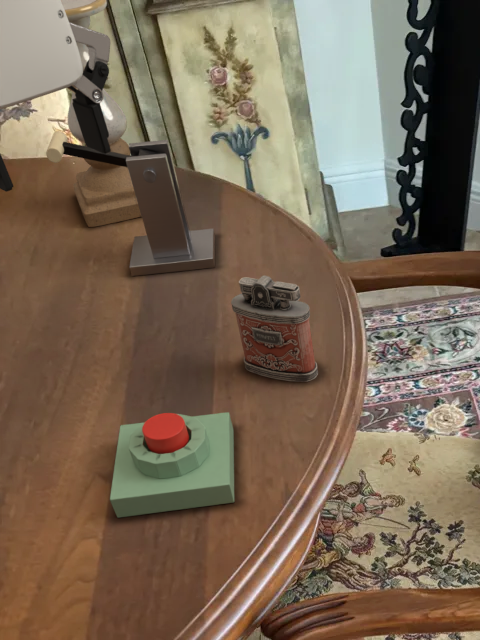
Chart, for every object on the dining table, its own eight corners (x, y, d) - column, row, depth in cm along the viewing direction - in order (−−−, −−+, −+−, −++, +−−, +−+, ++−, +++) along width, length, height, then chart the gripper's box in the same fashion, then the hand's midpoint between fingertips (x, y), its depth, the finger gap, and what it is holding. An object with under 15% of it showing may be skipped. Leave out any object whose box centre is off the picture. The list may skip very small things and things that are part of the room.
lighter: (239, 371, 81) (219, 282, 74) (254, 353, 83) (236, 265, 76) (309, 385, 79) (296, 296, 72) (323, 366, 81) (311, 277, 74)
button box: (117, 518, 67) (102, 484, 64) (126, 443, 74) (114, 409, 71) (234, 502, 68) (225, 468, 65) (233, 430, 75) (225, 396, 72)
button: (146, 457, 67) (140, 441, 66) (148, 430, 69) (143, 415, 68) (188, 452, 67) (183, 436, 66) (189, 425, 70) (185, 410, 68)
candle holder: (88, 228, 104) (16, 19, 86) (76, 196, 111) (7, -4, 93) (169, 210, 107) (116, 4, 89) (152, 180, 114) (100, -17, 96)
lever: (46, 165, 86) (45, 142, 84) (53, 147, 89) (52, 125, 88) (162, 188, 90) (163, 166, 88) (164, 170, 93) (165, 149, 91)
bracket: (132, 276, 95) (98, 168, 86) (136, 245, 100) (105, 140, 91) (214, 267, 96) (190, 159, 86) (215, 237, 101) (192, 132, 92)
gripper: (43, -100, 63) (111, 127, 75) (-179, -57, 54) (-61, 191, 67) (95, -92, 59) (157, 145, 72) (-134, -45, 51) (-18, 215, 63)
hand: (52, 167), depth 69 cm, fingers open, 9 cm apart
